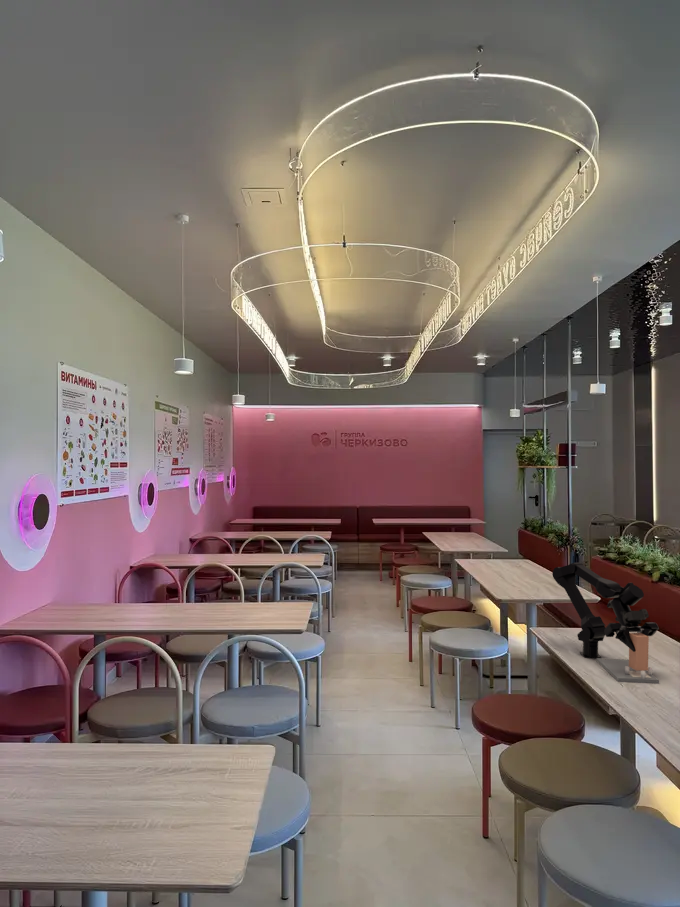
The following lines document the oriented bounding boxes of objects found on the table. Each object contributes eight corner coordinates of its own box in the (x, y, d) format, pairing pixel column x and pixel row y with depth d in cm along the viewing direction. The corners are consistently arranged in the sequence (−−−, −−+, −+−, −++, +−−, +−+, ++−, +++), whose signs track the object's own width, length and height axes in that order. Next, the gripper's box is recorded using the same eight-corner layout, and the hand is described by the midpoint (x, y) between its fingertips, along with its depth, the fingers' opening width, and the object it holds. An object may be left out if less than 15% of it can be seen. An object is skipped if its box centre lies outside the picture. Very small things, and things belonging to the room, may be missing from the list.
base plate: (596, 661, 235) (596, 651, 235) (633, 662, 234) (633, 653, 234) (617, 681, 213) (618, 670, 213) (659, 683, 212) (659, 672, 212)
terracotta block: (628, 666, 220) (629, 633, 220) (640, 665, 220) (640, 632, 220) (636, 670, 215) (637, 636, 215) (648, 670, 216) (648, 636, 216)
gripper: (609, 601, 221) (626, 640, 210) (656, 600, 223) (676, 639, 212) (596, 617, 228) (613, 655, 217) (642, 616, 231) (660, 654, 220)
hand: (641, 651), depth 216 cm, fingers closed on terracotta block, 4 cm apart
